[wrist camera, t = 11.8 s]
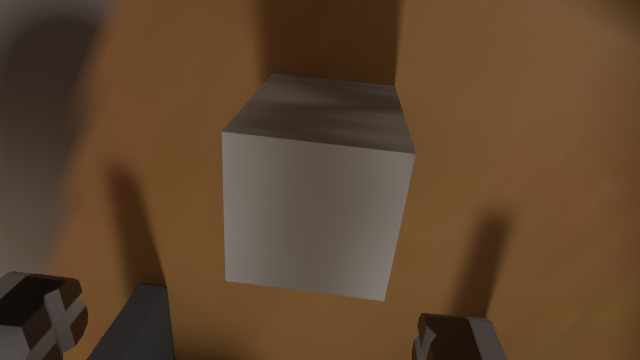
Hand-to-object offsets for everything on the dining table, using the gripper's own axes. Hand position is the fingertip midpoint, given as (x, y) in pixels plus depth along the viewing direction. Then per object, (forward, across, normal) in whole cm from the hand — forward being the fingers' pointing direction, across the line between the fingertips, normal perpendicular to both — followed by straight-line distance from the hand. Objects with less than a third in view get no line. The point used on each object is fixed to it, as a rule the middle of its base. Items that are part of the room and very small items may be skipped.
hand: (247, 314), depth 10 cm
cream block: (+10, -1, -1) cm, 10 cm away
